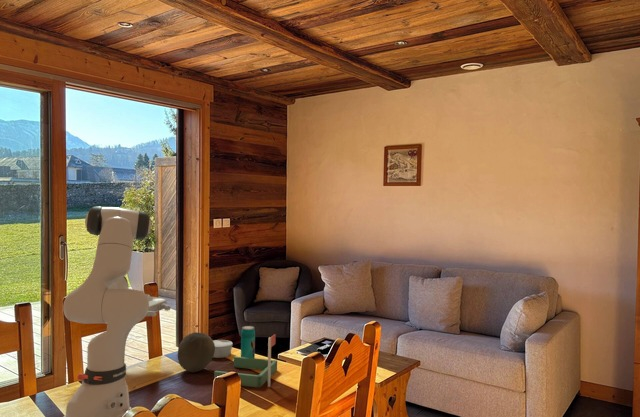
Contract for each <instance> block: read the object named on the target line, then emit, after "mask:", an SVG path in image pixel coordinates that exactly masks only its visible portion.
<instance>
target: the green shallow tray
mask: <svg viewBox="0 0 640 417" xmlns="http://www.w3.org/2000/svg"><path fill="white" fill-rule="evenodd" d="M275 345H276V334H273V335H271V337H270V336H269V337H268V343H267V346H268V347H267V348H268V349H267V359H265V358H256V357H255V358H246V357H241V356H233V368H238V369H239V368H240V369H248V370H249V369H250V370H257V369H260V370H259V371H261V372H260V373H259V374H252V373H251V374H249V373H240V372H237V373H238V375H239V376H240V378H241V381H242V385H241V386H243V387H251V388H261V387H262V386H264V384H266V382H267V388H271V377H272V376H273V375H274V374H275V373H276V372H277V371H278V360H276V359H275V360H274V359H272V347H273V346H275ZM228 372H229V371H223V370H221V371H220V370H215V371H214V372H213V373H214V376H213V377H214V378H215V377H217V376H219V375H222V374H225V373H228ZM214 378H213V379H214Z"/></svg>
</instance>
